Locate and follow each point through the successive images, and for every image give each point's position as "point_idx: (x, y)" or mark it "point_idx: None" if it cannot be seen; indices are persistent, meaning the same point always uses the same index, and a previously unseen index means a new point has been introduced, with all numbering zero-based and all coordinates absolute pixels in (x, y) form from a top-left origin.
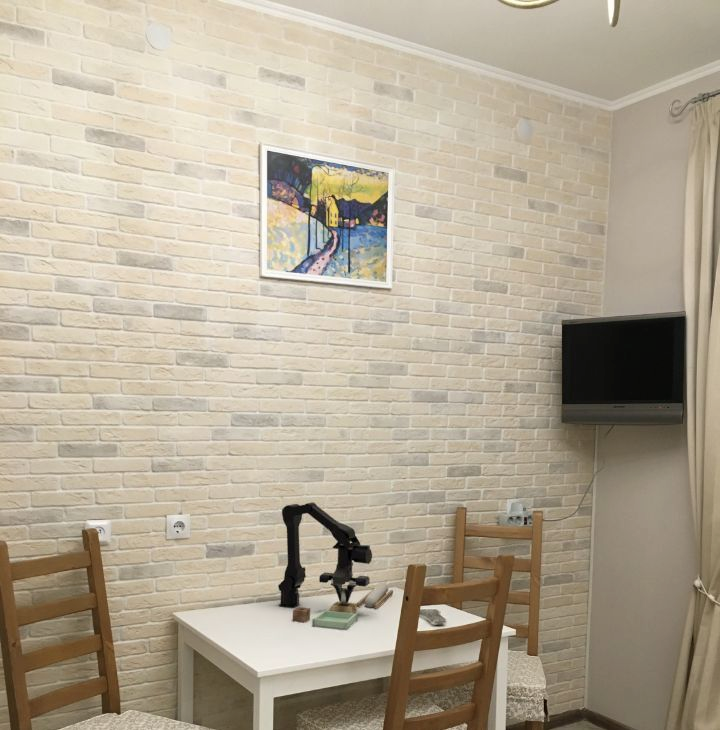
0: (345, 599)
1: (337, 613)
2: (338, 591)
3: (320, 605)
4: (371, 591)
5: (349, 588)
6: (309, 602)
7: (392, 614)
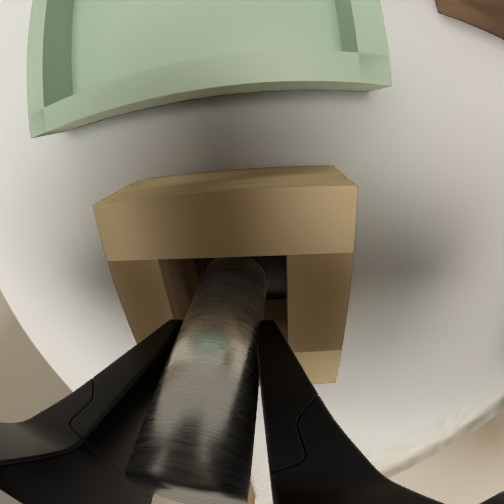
0: (177, 335)
1: (205, 61)
2: (287, 429)
3: (439, 367)
4: (248, 499)
5: (10, 435)
6: (481, 376)
7: (33, 338)
